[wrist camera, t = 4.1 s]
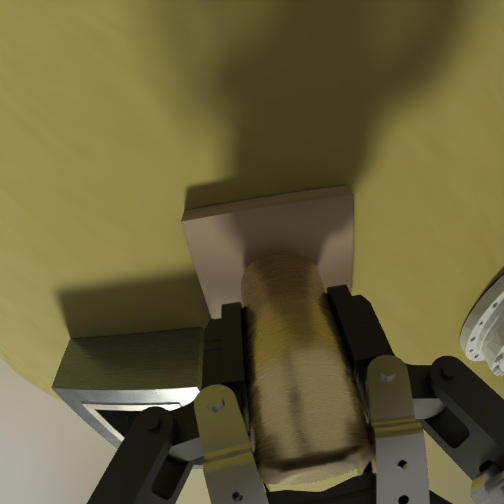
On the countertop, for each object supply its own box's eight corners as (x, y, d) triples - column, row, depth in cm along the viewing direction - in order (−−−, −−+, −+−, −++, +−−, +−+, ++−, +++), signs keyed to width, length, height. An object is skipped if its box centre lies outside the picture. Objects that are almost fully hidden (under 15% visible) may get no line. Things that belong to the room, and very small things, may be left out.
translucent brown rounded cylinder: (233, 258, 13) (242, 460, 6) (318, 244, 13) (388, 432, 6) (247, 318, 15) (261, 489, 8) (320, 306, 14) (366, 469, 8)
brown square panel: (184, 210, 13) (181, 221, 13) (345, 185, 13) (353, 194, 12) (218, 324, 17) (218, 338, 16) (344, 304, 17) (349, 316, 16)
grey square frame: (70, 338, 18) (46, 401, 13) (201, 327, 17) (196, 404, 13) (131, 414, 23) (124, 465, 19) (235, 410, 23) (237, 467, 19)
